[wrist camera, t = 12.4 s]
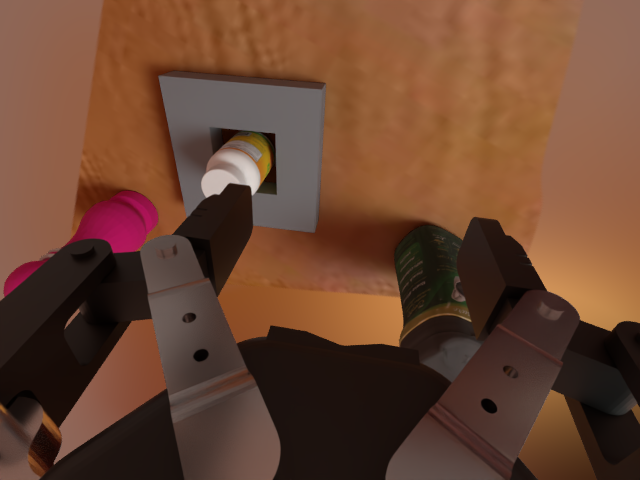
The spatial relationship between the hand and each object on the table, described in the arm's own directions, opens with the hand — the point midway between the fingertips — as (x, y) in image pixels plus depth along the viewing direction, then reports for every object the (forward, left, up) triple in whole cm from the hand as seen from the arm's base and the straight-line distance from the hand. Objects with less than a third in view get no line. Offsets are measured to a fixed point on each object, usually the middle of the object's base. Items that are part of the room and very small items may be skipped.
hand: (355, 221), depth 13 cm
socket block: (+8, -12, -26) cm, 30 cm away
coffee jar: (+19, +11, -26) cm, 34 cm away
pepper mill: (+18, -29, -26) cm, 43 cm away
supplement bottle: (+8, -12, -26) cm, 30 cm away
